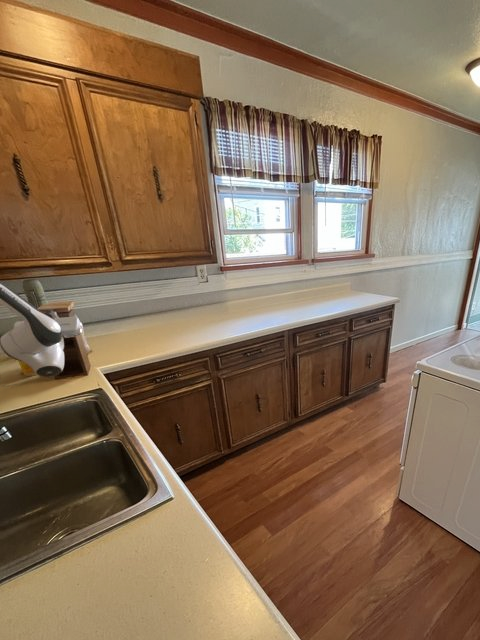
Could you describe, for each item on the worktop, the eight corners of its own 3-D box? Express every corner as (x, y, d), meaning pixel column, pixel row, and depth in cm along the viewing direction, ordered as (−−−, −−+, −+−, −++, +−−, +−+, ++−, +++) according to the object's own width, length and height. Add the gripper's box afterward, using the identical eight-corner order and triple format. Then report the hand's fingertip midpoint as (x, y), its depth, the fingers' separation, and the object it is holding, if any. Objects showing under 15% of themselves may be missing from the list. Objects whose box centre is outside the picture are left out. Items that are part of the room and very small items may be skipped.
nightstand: (87, 375, 141) (68, 314, 130) (55, 379, 137) (32, 317, 125) (90, 366, 151) (73, 309, 139) (60, 370, 147) (39, 311, 135)
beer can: (28, 377, 139) (14, 343, 132) (21, 374, 142) (7, 341, 135) (44, 373, 143) (31, 340, 136) (37, 370, 146) (25, 337, 139)
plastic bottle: (89, 351, 170) (77, 312, 161) (93, 354, 165) (81, 315, 156) (75, 354, 166) (62, 314, 157) (78, 357, 161) (65, 317, 152)
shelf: (65, 316, 126) (63, 311, 125) (31, 319, 122) (29, 314, 121) (74, 305, 146) (73, 300, 146) (45, 307, 142) (43, 302, 141)
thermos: (65, 345, 180) (42, 277, 164) (64, 351, 171) (40, 280, 155) (46, 347, 176) (20, 279, 160) (43, 353, 167) (16, 281, 151)
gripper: (78, 329, 120) (77, 304, 127) (10, 336, 113) (12, 309, 119) (84, 341, 125) (82, 317, 132) (19, 349, 118) (20, 322, 124)
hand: (48, 313), depth 125 cm, fingers closed on shelf, 2 cm apart
